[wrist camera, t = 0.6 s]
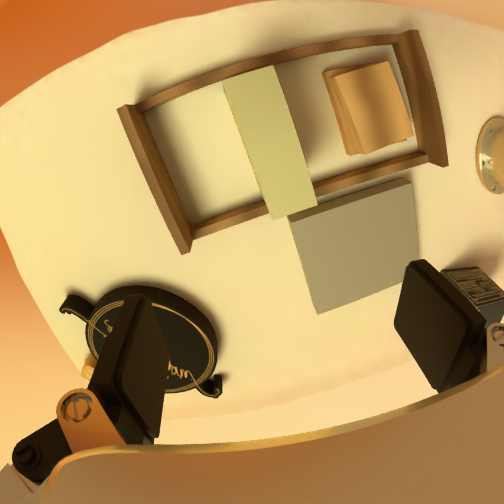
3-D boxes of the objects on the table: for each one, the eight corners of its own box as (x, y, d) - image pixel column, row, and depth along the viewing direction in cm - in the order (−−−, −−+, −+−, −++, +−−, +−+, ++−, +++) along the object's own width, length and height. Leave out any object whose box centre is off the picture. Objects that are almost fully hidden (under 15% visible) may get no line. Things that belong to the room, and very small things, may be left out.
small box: (428, 302, 44) (460, 341, 34) (439, 269, 41) (476, 306, 31) (467, 295, 44) (498, 328, 35) (478, 265, 42) (513, 296, 32)
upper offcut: (379, 63, 26) (388, 61, 24) (405, 133, 30) (414, 135, 28) (328, 78, 27) (334, 76, 25) (357, 151, 31) (365, 154, 29)
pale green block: (259, 79, 28) (273, 65, 19) (293, 178, 33) (317, 205, 24) (223, 91, 28) (222, 80, 19) (260, 189, 33) (272, 220, 24)
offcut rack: (395, 36, 25) (417, 29, 21) (425, 157, 32) (448, 165, 28) (132, 109, 28) (116, 109, 23) (187, 236, 35) (181, 255, 31)
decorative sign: (42, 350, 39) (89, 248, 32) (49, 338, 42) (99, 237, 35) (178, 424, 49) (267, 361, 42) (179, 411, 52) (264, 346, 45)
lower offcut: (378, 63, 27) (386, 61, 26) (398, 138, 32) (406, 140, 30) (320, 73, 28) (325, 71, 26) (344, 153, 33) (350, 155, 31)
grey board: (401, 177, 34) (411, 182, 31) (410, 266, 40) (418, 274, 38) (286, 215, 35) (290, 223, 33) (313, 304, 41) (317, 314, 39)
